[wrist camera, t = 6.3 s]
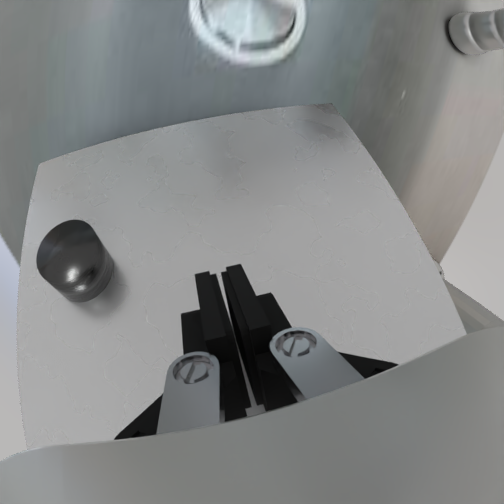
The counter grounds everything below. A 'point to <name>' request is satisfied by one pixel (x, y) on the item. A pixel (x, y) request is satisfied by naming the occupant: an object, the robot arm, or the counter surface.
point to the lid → (209, 259)
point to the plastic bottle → (478, 31)
